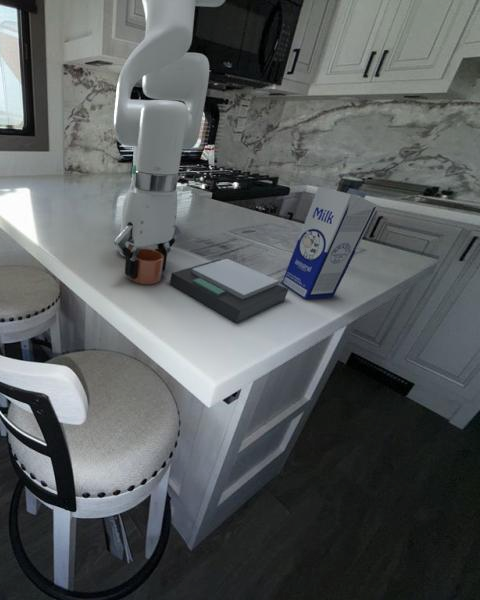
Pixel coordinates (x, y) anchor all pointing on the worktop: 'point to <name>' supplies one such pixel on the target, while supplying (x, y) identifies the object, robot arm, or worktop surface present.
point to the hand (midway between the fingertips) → (145, 271)
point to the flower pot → (149, 266)
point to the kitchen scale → (229, 288)
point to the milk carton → (328, 242)
